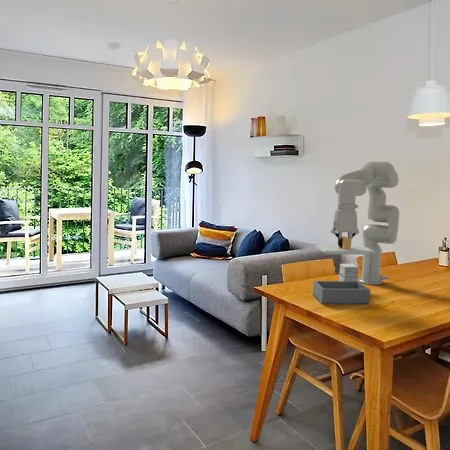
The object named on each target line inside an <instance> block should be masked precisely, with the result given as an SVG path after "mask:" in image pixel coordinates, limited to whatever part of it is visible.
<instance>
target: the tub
mask: <svg viewBox="0 0 450 450" xmlns="http://www.w3.org/2000/svg"><path fill="white" fill-rule="evenodd" d="M312 284H313V285H312V296H313V297H314V298H315V299H316V300H317V302H319V303H320V304H321V305H370V301H371V300H370V299H371V288H369V287H368V286H366V284H364V283H361V282H359V280H358V281H339V280H313V283H312Z"/></svg>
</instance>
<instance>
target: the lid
mask: <svg viewBox="0 0 450 450" xmlns="http://www.w3.org/2000/svg"><path fill="white" fill-rule="evenodd" d="M314 247H315V248H316V249H318V250H320V251H321V252H322V253H323V254H326V255H363V254H369V253H372V254H375V251H373V250H371V249H369V248H367V247H365V246H364V245H362V244H356V245H355V244H352V239H351V238H348V236H346V235H342V248H340V247H339V246H338V244H315V246H314Z"/></svg>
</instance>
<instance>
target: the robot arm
mask: <svg viewBox="0 0 450 450" xmlns="http://www.w3.org/2000/svg"><path fill="white" fill-rule="evenodd" d="M398 183H399V174H398V172H397V171H396V169H395V167H394V166H393V164H391V162H388V161H368V162H366V163H365V164H364V165H363V166H362V167H360V168H359V169H358V170H355V171H352V172H348V173H345V174H343V175H341V176H340V177H339V178H338V179H336V182H335V184H334V191H335V193H336V194H337V195H338V196H337V197H338V200H337V201H338V202H337V209H336V210H335V213H334V216H333V217H334V218H333V224H332V228H331V230H330V233H331V234H332V235H334V236H335V237H336V238H337V245H338V246H339V247H340V248H342V236H343V233H347V237H348V238H351V240H352V239H353V238H354V237H355V236H357V235H358V234H360V230H359V228H358V215H357V210H356V209H359V205H358V204H357V203H356V198H357V197H360V196H363V195H364V194H366V192H367V190H368V194H369V195H368V196H369V201H368V208H367V219H368V220H369V221H370V222H373V223H371V224H365V225H364V226H363V228H362V239H363V240H362V241H363V243H362V244H363V246H365V247H367V248H369V249H371V250H373V251H375V254H372V253H369V254H362V265H361V266H362V269H361V277H358V281H359V282H360V283H362V284H363V285H372V286H373V285H374V286H376V285H382V284H383V283H384V281H383V280H389V279H390V275H385V274H381V272H382V271H381V269H382V255H383V251H382V248H381V245H380V244H387V245H393V244H396V241H397V240H398V239H397V238H398V231H399V222H400V210H399V208H398V207H397V206H396V205H392V204H386V203H387V195H386V192H385V191H384V189H383V188H385V189H386V188H388V189H389V188H392V189H393V188H395V187H397V186H398ZM374 223H375V224H374ZM376 223H382V224H376ZM383 224H387V225H383Z"/></svg>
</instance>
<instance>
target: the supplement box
mask: <svg viewBox="0 0 450 450" xmlns="http://www.w3.org/2000/svg"><path fill="white" fill-rule="evenodd" d="M359 269H360V268H359V266H357V265H355V264H354V263H340V264H339V276H338V281H359Z"/></svg>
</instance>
